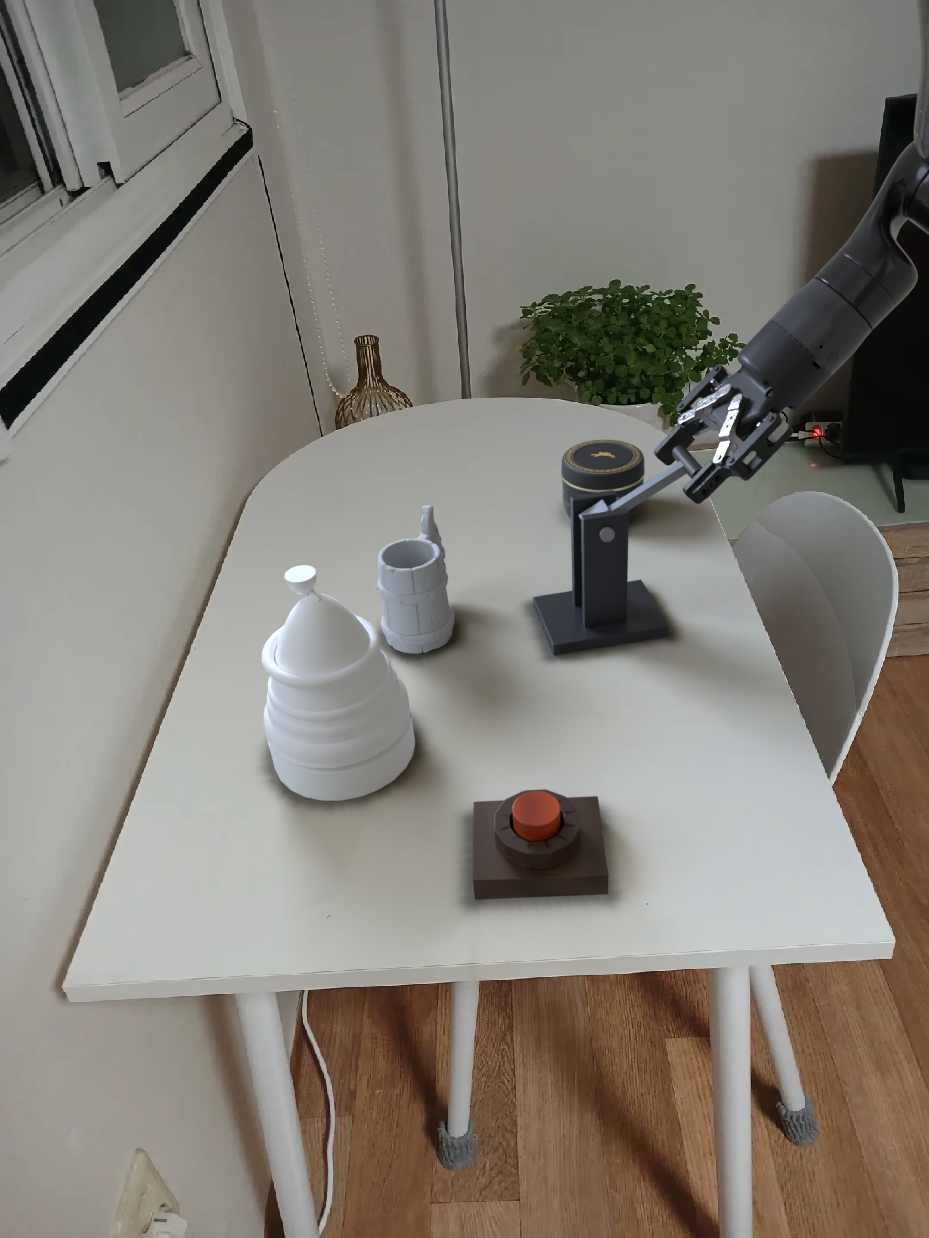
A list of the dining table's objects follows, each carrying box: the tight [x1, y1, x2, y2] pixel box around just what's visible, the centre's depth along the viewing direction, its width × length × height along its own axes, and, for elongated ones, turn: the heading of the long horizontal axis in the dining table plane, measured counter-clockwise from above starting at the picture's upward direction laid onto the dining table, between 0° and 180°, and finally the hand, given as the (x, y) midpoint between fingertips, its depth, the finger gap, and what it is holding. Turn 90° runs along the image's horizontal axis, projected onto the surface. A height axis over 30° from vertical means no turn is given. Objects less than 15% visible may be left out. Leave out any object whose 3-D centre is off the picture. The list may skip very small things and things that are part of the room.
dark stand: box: [532, 490, 670, 656], centre depth 96 cm, size 12×9×14 cm
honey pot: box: [261, 564, 416, 802], centre depth 81 cm, size 13×13×18 cm
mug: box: [376, 505, 456, 655], centre depth 98 cm, size 8×12×12 cm, turn 162°
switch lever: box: [579, 445, 704, 519], centre depth 92 cm, size 12×6×2 cm, turn 101°
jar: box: [560, 439, 646, 523], centre depth 116 cm, size 10×10×8 cm
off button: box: [512, 791, 561, 842], centre depth 72 cm, size 4×4×2 cm
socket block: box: [472, 788, 609, 901], centre depth 73 cm, size 10×8×4 cm
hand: (674, 478), depth 91 cm, fingers open, 8 cm apart
